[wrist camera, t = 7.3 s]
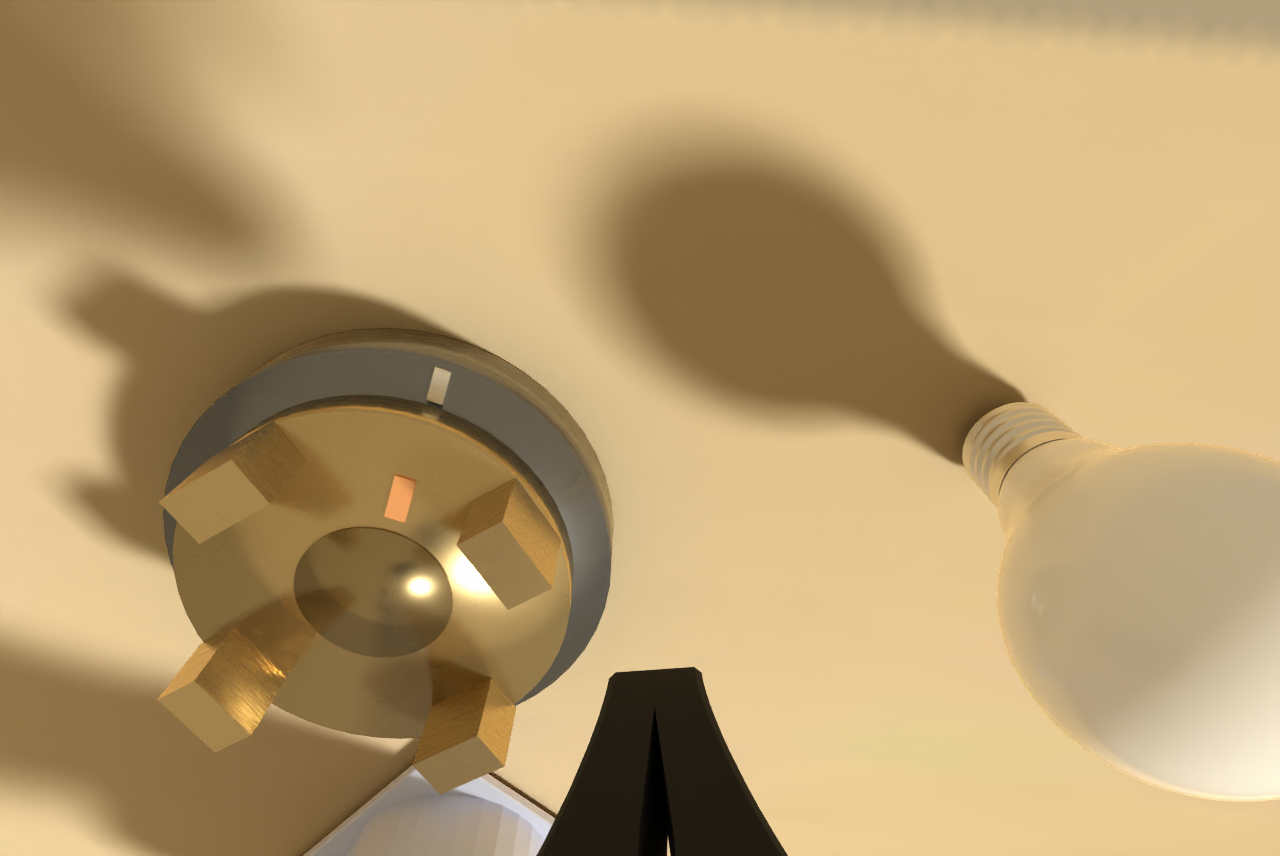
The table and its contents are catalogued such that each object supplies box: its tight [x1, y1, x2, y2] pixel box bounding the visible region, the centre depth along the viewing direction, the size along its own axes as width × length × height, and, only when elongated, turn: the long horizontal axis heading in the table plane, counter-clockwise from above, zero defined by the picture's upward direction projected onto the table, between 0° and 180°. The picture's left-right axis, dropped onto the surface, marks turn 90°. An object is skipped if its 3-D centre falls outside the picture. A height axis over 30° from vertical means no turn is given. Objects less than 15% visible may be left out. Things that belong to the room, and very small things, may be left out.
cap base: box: [163, 328, 613, 706], centre depth 21 cm, size 12×12×2 cm
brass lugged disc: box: [157, 394, 574, 794], centre depth 19 cm, size 10×10×3 cm
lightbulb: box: [962, 402, 1280, 802], centre depth 16 cm, size 6×6×11 cm
